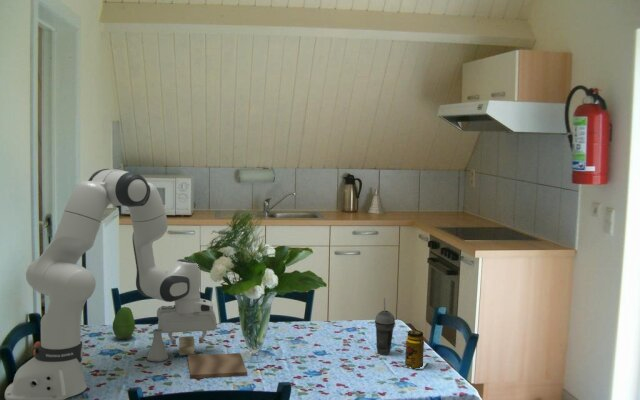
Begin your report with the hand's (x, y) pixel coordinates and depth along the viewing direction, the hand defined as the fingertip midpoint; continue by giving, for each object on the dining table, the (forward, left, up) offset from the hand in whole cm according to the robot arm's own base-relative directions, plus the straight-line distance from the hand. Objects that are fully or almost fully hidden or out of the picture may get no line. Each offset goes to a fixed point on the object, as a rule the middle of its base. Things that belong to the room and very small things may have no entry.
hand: (187, 343), depth 241 cm
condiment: (+76, -24, -3) cm, 80 cm away
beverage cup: (+69, -11, -3) cm, 70 cm away
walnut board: (+9, -16, -3) cm, 19 cm away
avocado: (-22, +18, -3) cm, 29 cm away
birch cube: (0, 0, -3) cm, 3 cm away
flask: (-10, -5, -3) cm, 12 cm away
